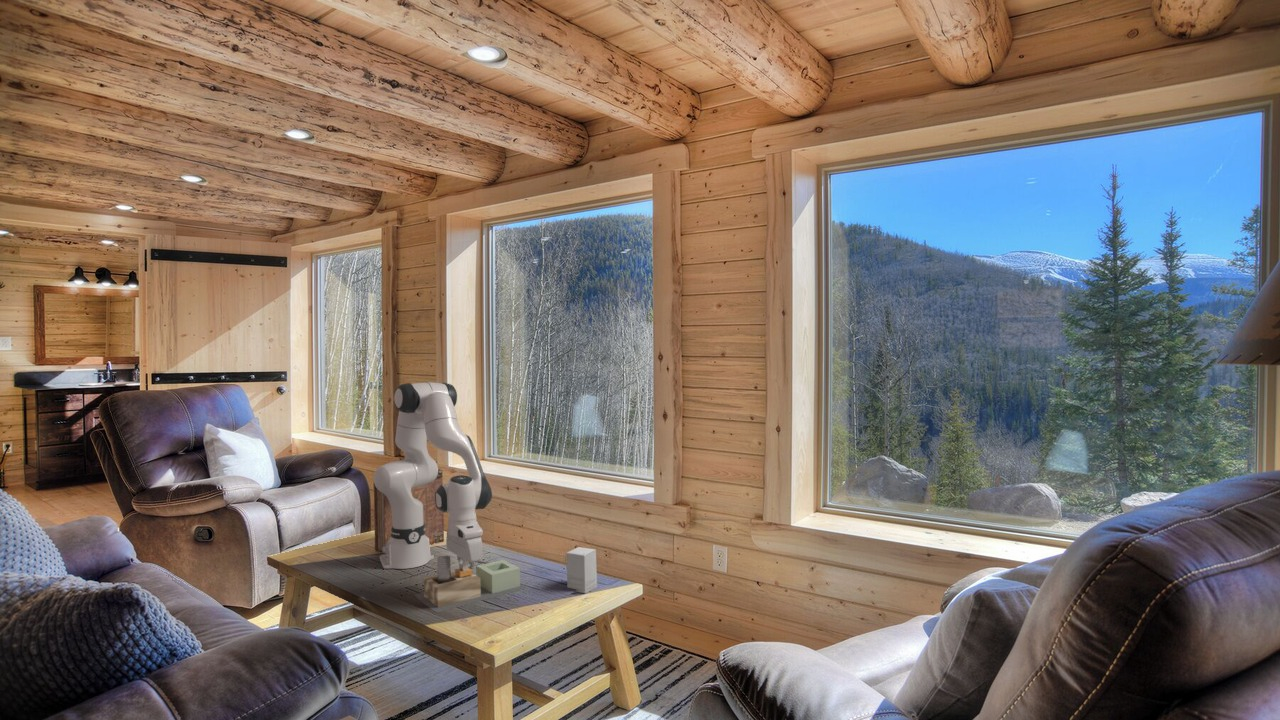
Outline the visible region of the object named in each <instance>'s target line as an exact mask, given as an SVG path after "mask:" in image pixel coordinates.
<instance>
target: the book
mask: <svg viewBox="0 0 1280 720" xmlns="http://www.w3.org/2000/svg"><path fill="white" fill-rule="evenodd" d="M441 485H443V470H442V469H439V468H438V475H437V477H436V479H435V480H434V481H432V482H430V483H428V484H426V485H423V486H419V487H414V488H411V493H412V496H413V498H415V499H418V500H419V501H420V502H421V503H422V504H423V520H424V524H425V536H427V537H428V538H429V546H431V545H434V543H435V544H437V543H442V542H444V541H445V535H444V533H445V531H444V512H442V511H440V510H439V509H438V508H437V507H436V503H435V492H436V491H437V489H438V488H439V487H440V486H441ZM373 513H374V514H373V516H374V519H373V520H374V551H375V550H378V551H380V552H382V553H383V551H382V547H386V543H387V542H388V540H389V539H390V538H391V528H392V526H393V523H392V509H391V505H390V502H389V500H388V498H387V497H386V495H385V494H384V493H382V492H381V491H379V490H378V489H377V488H376V486H375V484H374V483H373ZM430 544H431V545H430ZM384 554H386V553H384Z"/></svg>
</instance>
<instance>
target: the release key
mask: <svg viewBox="0 0 1280 720" xmlns="http://www.w3.org/2000/svg"><path fill="white" fill-rule="evenodd" d="M454 571H455V574H456V575H458V576H459V577H465V576H468V575H472V573H473V569H470V568H469V567H468V570H466V571H463V570H461V569H460V568H456V569H454Z"/></svg>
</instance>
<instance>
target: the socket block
mask: <svg viewBox="0 0 1280 720" xmlns="http://www.w3.org/2000/svg"><path fill="white" fill-rule="evenodd" d="M423 593H424V597H425V598H427V599H428V600H429V601H430V602H432V603H433V604H434V605H436V606H437V607H442V606H446V605H450V604H453V603H457V602H461V601H465V600H469V599H473V598H477V597H480V596H481V584H480V577H478V576H477V575H476V574H474V573H473V572H472V575H468V576H465V577H459V576H458V575H456V574H455V570H451V581H450V582H446V583H442V584H438V574H434V575H430V576H426V577H423Z"/></svg>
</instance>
